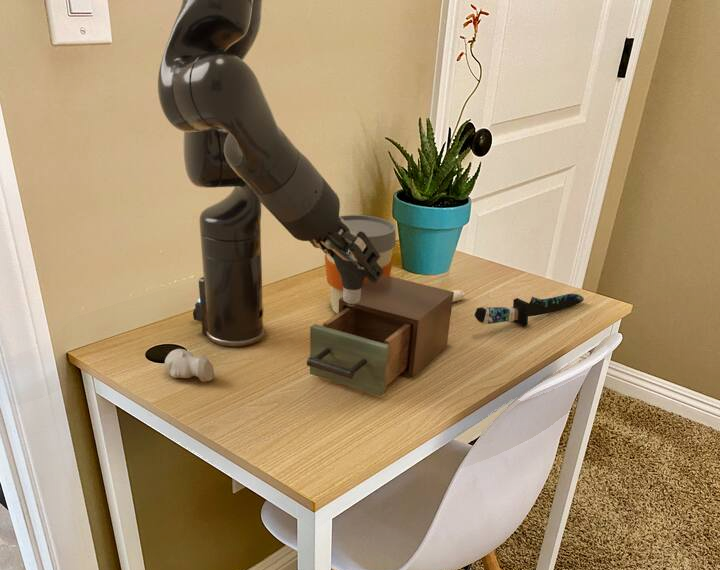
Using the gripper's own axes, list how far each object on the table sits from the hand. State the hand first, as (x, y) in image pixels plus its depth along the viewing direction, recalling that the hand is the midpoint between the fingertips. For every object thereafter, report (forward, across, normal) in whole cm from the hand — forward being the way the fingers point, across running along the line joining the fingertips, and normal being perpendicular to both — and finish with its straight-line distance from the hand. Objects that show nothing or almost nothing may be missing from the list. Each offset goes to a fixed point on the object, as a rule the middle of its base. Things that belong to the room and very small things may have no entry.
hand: (362, 269), depth 105 cm
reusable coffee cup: (+25, +21, 0) cm, 33 cm away
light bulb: (+2, 0, +5) cm, 5 cm away
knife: (+42, -2, -17) cm, 45 cm away
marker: (+33, +13, -9) cm, 37 cm away
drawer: (+12, 0, +12) cm, 16 cm away
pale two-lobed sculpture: (-2, +15, +27) cm, 31 cm away
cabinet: (+21, +4, +4) cm, 21 cm away
